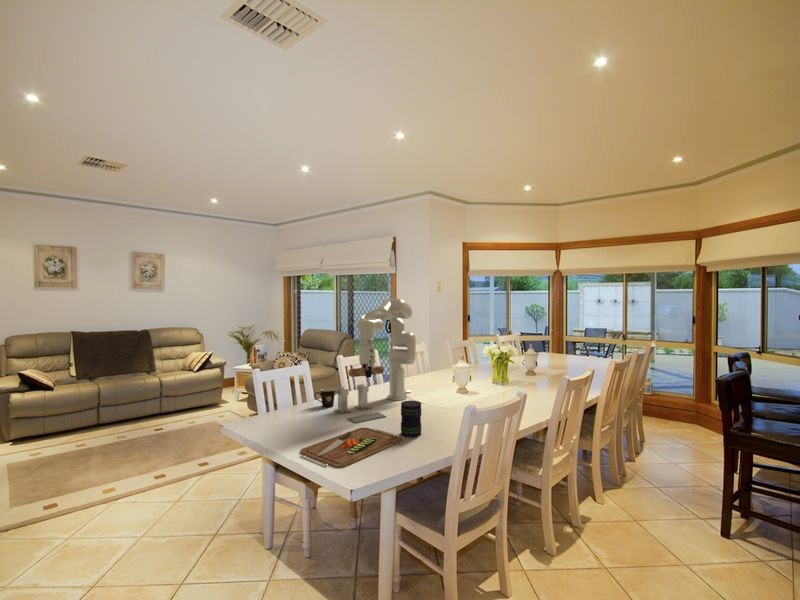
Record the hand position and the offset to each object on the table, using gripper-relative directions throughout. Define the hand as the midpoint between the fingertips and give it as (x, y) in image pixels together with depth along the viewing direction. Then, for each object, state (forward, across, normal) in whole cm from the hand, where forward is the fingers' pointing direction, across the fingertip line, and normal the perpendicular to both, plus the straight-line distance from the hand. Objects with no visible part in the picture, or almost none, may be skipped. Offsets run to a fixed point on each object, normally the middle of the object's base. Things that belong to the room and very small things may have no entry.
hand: (366, 376), depth 220 cm
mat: (+23, 0, 0) cm, 23 cm away
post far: (+23, +18, -8) cm, 30 cm away
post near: (+23, +18, +5) cm, 30 cm away
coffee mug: (+23, +34, +9) cm, 42 cm away
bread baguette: (-1, 0, 0) cm, 1 cm away
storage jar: (+23, -34, -5) cm, 41 cm away
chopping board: (+24, -32, +25) cm, 47 cm away
